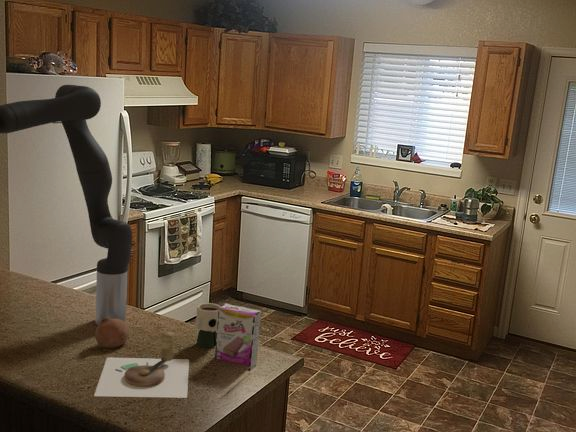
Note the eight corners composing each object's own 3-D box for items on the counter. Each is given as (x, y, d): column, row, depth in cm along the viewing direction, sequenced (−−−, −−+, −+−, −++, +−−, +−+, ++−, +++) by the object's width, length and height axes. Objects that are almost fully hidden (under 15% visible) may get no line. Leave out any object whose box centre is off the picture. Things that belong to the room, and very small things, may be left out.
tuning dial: (149, 390, 158) (151, 358, 156) (116, 380, 161) (117, 348, 159) (185, 365, 173) (187, 336, 171) (154, 357, 176) (155, 328, 175)
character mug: (203, 358, 182) (206, 314, 180) (185, 350, 186) (187, 308, 184) (227, 347, 191) (230, 305, 189) (209, 340, 195) (211, 299, 193)
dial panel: (106, 362, 174) (107, 356, 174) (188, 364, 177) (189, 358, 177) (93, 401, 153) (93, 395, 153) (186, 403, 156) (187, 396, 156)
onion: (98, 357, 184) (84, 325, 183) (125, 341, 190) (112, 310, 189) (112, 357, 177) (97, 324, 176) (140, 340, 183) (126, 309, 182)
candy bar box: (213, 363, 180) (217, 307, 176) (221, 356, 184) (225, 302, 181) (250, 371, 176) (255, 315, 173) (257, 365, 181) (261, 309, 178)
